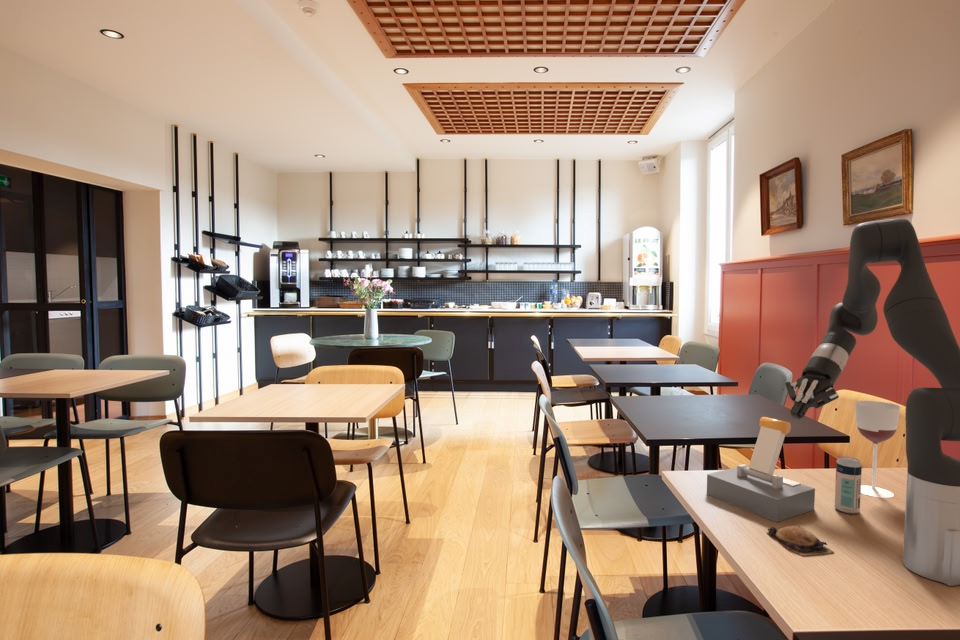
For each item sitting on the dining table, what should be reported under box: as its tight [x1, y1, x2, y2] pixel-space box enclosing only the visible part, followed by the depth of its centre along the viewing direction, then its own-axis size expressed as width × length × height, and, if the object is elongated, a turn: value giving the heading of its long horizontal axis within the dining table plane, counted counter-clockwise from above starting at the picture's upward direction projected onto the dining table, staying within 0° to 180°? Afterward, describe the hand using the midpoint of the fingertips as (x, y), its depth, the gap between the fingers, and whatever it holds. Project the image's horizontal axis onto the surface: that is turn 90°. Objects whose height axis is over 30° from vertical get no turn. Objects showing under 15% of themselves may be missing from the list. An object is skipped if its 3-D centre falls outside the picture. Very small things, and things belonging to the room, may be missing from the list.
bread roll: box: [766, 525, 835, 558], centre depth 107 cm, size 11×8×4 cm
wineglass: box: [854, 400, 901, 499], centre depth 133 cm, size 9×10×22 cm
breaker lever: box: [744, 416, 792, 483], centre depth 128 cm, size 3×7×15 cm, turn 29°
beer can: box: [834, 456, 863, 515], centre depth 122 cm, size 5×5×12 cm
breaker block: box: [706, 463, 816, 523], centre depth 127 cm, size 14×18×8 cm
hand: (795, 416), depth 132 cm, fingers closed
